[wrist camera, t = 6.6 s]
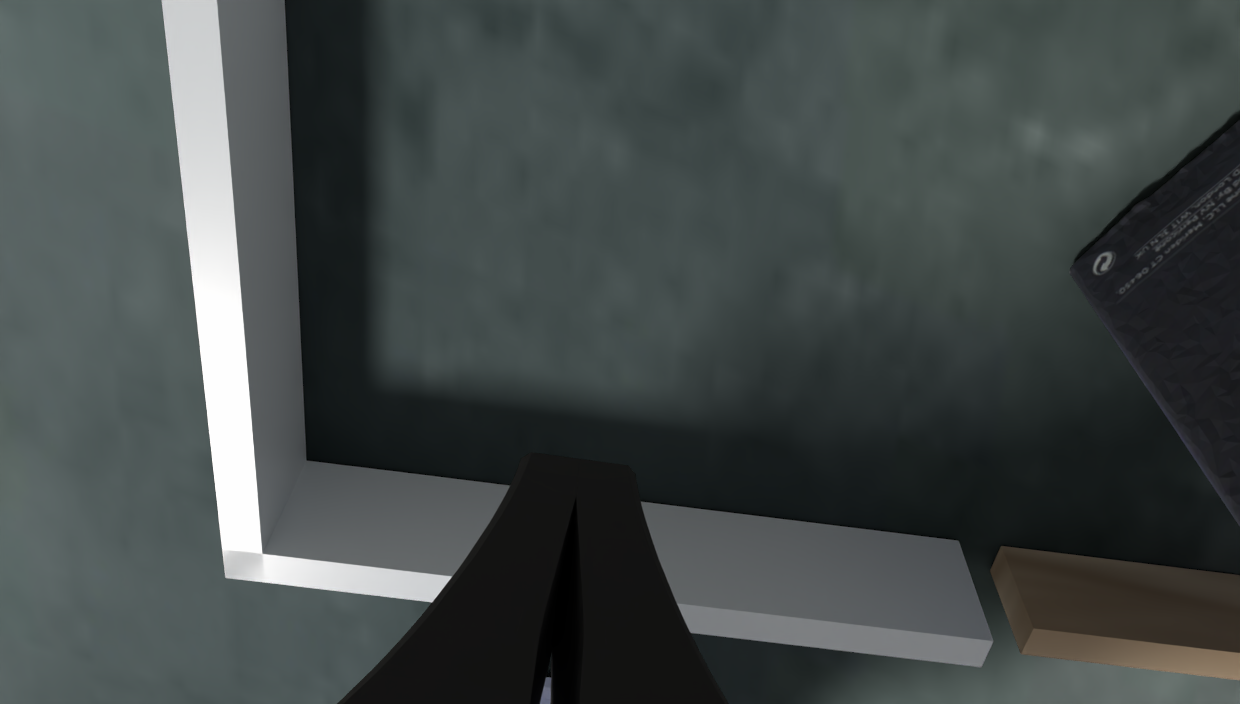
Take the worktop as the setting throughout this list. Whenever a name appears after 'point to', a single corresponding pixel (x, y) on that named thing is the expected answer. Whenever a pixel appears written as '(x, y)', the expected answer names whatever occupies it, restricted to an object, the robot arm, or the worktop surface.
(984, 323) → the worktop surface
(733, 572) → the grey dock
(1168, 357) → the small box
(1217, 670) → the block
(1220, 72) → the worktop surface
